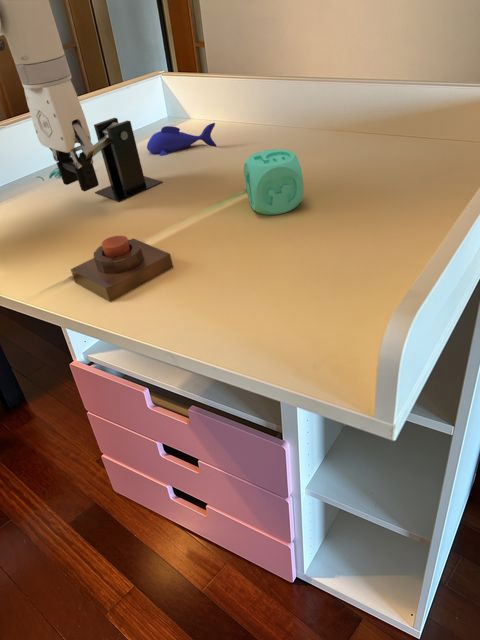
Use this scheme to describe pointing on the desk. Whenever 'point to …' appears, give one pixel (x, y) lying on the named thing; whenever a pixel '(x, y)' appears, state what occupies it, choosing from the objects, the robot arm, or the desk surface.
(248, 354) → the desk surface
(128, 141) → the switch bracket
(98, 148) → the switch lever
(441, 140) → the desk surface
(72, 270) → the button block
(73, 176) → the robot arm
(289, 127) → the desk surface
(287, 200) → the decorative dice
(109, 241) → the button
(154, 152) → the fish toy
